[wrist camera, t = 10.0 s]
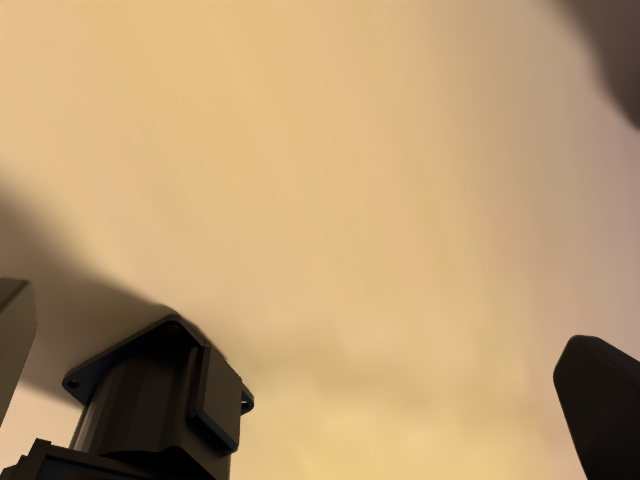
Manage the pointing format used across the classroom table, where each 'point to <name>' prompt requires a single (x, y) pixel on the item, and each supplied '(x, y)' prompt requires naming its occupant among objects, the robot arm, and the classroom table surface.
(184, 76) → the classroom table surface
